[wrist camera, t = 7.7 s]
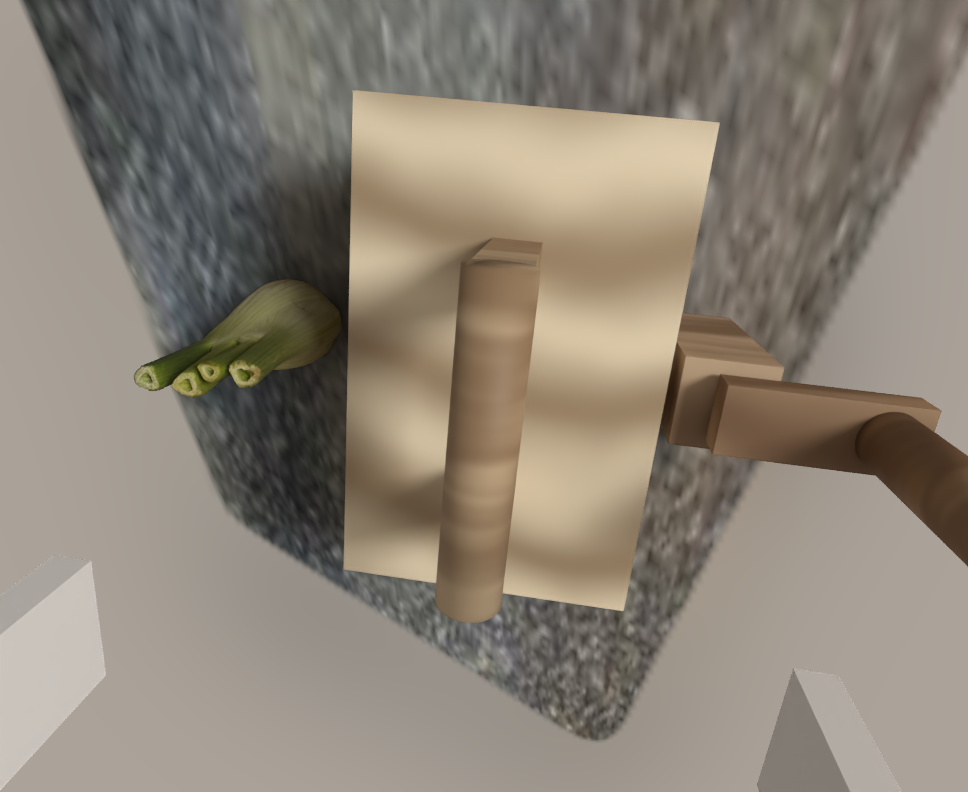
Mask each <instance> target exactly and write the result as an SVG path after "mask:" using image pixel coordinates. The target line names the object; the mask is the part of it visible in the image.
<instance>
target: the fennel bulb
mask: <svg viewBox="0 0 968 792" xmlns="http://www.w3.org/2000/svg"><path fill="white" fill-rule="evenodd" d="M341 325H342V323H341V319H340V312H339V310H338V309H337V308H336V306H335V305H333V304H332V303H331V302H330V301H329V300H328V299H327V298H326V297H325V295H324V294H323V293H322V292H321V291H320V290H318V289H317V288H315V287H314V286H312V285H311V284H309V283H307V282H303V281H299V280H293V279H284V280H279V281H274V282H270V283H268V284H265V285H264V286H262V287H260V288H258V289H257V290H256V291H254V292H253V293H252V294H250V295H249V296H248V297H247V298H246V299H245V300H243V301H242V302H241V303H240V304H239V305H238V306H237V307H236V308H235V309H234V310H233V311H232V313H231V314H230V315H229V316H228V317H227V318H226V319H225V320H223V321H222V322H221V323H220V324H219V325H218V326H217V327H215V328H214V329H213V330H212V331H211V332H210V333H209V334H208V335H207V336H206V337H205V338H203V339H202V340H201V341H199V342H196V343H194V344H192V345H190V346H188V347H185V348H183V349H181V350H179V351H176V352H174V353H172V354H169V355H167V356H164V357H162V358H160V359H158V360H155V361H153V362H150V363H147V364H145V365H143V366H141V367H140V369H138V370H137V371H136V373H135V375H134V380H135V383H136V384H137V385H138V386H140V387H144V388H146V389H148V390H149V391H157V390H160V389H163V388H164V387H167V386H169V385H171V384H172V387H173V389H174V390H175V391H177V392H179V393H181V394H183V395H186V396H191V397H194V398H196V397H200V396H203V395H204V394H206V393H207V392H208V391H209V390H211V389H212V388H213V387H214V386H215V385H217V384H218V383H219V382H220V381H221V380H223V379H224V378H226V377H227V376H230V375H232V377H233V379H234V381H235V382H236V384H237V385H238V387H240V388H247V387H252V386H255V385H257V384H258V383H259V382H260V381H261V380H262V379H263V378H264V377H266V375H268V374H269V373H270V372H271V371H272V370H284V369H291V368H297V367H302V366H305V365H308V364H310V363H312V362H314V361H316V360H317V359H319V358H320V357H323V356H325V355H326V354H327V353H328V352H329V351H330V350H331V348H332V346H333V343H334V339H335V338H336V337H337V336H338V335H339V333H340V331H341Z"/></svg>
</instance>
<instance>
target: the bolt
mask: <svg viewBox="0 0 968 792" xmlns="http://www.w3.org/2000/svg"><path fill="white" fill-rule="evenodd" d="M940 414H941V410H940V409H938V408H936V407H935V406H933V405H932V404H930V403H929V402H927V401H926V400H924V399H922V398H918V397H909V396H900V395H892V394H884V393H876V392H867V391H858V390H851V389H841V388H834V387H825V386H817V385H809V384H800V383H792V382H783V381H775V380H767V379H758V378H750V377H741V376H733V375H725V374H720V376H719V381H718V385H717V390H716V394H715V399H714V403H713V407H712V412H711V416H710V421H709V425H708V430H707V434H706V439H705V441H706V443H707V445H708V447H709V449H710V450H711V452H712V454H713V455H720V456H728V457H736V458H744V459H751V460H759V461H767V462H775V463H782V464H790V465H798V466H806V467H813V468H821V469H829V470H837V471H844V472H852V473H861V474H868V475H876V476H877V477H878V478H879V479H880V480H881V481H882V482H883V483H884V484H885V485H886V486H887V487H888V488H889V489H890V490H891V491H892V492H893V493H894V494H895V495H896V496H897V497H898V498H899V499H900V500H901V501H902V502H903V503H904V504H905V505H906V506H907V507H908V508H909V509H910V510H911V511H912V512H913V513H914V514H915V515H916V516H917V517H918V518H919V519H920V520H922V522H923V523H924V524H926V525H927V526H928V527H929V528H930V529H931V530H932V531H933V532H934V533H935V534H936V535H937V536H938V537H939V538H940V539H941V540H942V541H943V542H944V543H945V544H946V545H947V546H948V547H949V548H950V549H951V550H952V551H953V552H954V553H955V554H956V555H957V556H958V557H959V558H960V559H961V560H962V561H963V562H964V563H965V564H966V565H967V566H968V456H967V455H966V454H964V453H963V452H961V451H960V450H958V449H957V448H956V447H954V446H953V445H951V444H950V443H949V442H947V441H946V440H944V439H943V438H942V437H940V436H939V435H938V434H936V433H935V432H934V431H935V428H936V426H937V423H938V420H939V417H940Z"/></svg>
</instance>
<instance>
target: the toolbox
mask: <svg viewBox="0 0 968 792" xmlns="http://www.w3.org/2000/svg"><path fill="white" fill-rule="evenodd" d="M783 371H784V367H783V366H782V365H781V364H780V363H778V362H777V361H776V360H775V359H774V358H773V357H772V356H771V355H770V354H768V353H767V352H766V351H765V350H764V349H763V348H762V347H761V346H760V345H759V344H757V343H756V342H755V341H754V340H753V339H752V338H751V337H750V336H749V335H747V334H746V333H745V332H744V331H743V330H742V329H741V328H740V327H739V326H738V325H736V324H735V323H734V322H733V321H732V320H731V319H730V318H722V317H713V316H704V315H695V314H686V313H682V317H681V322H680V327H679V332H678V337H677V342H676V347H675V352H674V357H673V362H672V368H671V373H670V378H669V383H668V388H667V393H666V398H665V403H664V408H663V413H662V418H661V426H662V428H663V431H664V434H665V436H666V439H667V442H668V444H675V445H683V446H691V447H698V448H706V449H709V447H708V445H707V443H706V441H705V439H706V434H707V430H708V425H709V421H710V416H711V412H712V407H713V403H714V399H715V394H716V390H717V385H718V381H719V376H720V374H725V375H733V376H741V377H750V378H758V379H767V380H775V381H781V379H782V375H783Z"/></svg>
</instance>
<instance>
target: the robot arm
mask: <svg viewBox="0 0 968 792" xmlns="http://www.w3.org/2000/svg"><path fill="white" fill-rule="evenodd" d="M105 675H106V672H105V664H104V656H103V649H102V642H101V633H100V626H99V618H98V611H97V603H96V596H95V587H94V580H93V572H92V565H91V561H89V560H83V559H76V558H70V557H63V556H57V555H53V556H52V557H50V558H49V559H48V560H46V561H45V562H44V563H43V564H41V565H40V566H38V567H37V568H36V569H34V570H33V571H32V572H30V573H29V574H28V575H26V576H25V577H24V578H22V579H21V580H20V581H18V582H17V583H16V584H14V585H13V586H12V587H10V588H9V589H8V590H6V591H5V592H3V593H2V594H1V595H0V790H1V789H2V788H3V787H4V786H5V784H6V783H7V782H8V781H9V780H10V779H11V778H12V777H13V776H14V775H15V774H16V773H17V771H18V770H19V769H20V768H21V767H22V766H23V765H24V764H25V763H26V762H27V760H28V759H29V758H30V757H31V756H32V755H33V754H34V753H35V752H36V751H37V749H38V748H39V747H40V746H41V745H42V744H43V743H44V742H45V741H46V740H47V739H48V738H49V736H50V735H51V734H52V733H53V732H54V731H55V730H56V729H57V728H58V727H59V725H61V723H62V722H63V721H64V720H65V719H66V718H67V717H68V716H69V715H70V713H72V711H73V710H74V709H75V708H76V707H77V706H78V705H79V704H80V703H81V702H82V701H83V699H84V698H85V697H86V696H87V695H88V694H89V693H90V692H91V691H92V690H93V688H94V687H95V686H96V685H97V684H98V683H99V682H100V681H101V680H102V679H103V678H104V676H105ZM757 786H758V789H759V792H902V791H901V789H900V788H899V786H898V784H897V782H896V780H895V778H894V777H893V775H892V773H891V771H890V769H889V768H888V766H887V764H886V762H885V760H884V758H883V757H882V755H881V753H880V751H879V749H878V747H877V745H876V744H875V742H874V740H873V738H872V736H871V735H870V733H869V731H868V729H867V727H866V725H865V724H864V722H863V720H862V718H861V716H860V714H859V713H858V711H857V709H856V707H855V705H854V704H853V701H852V700H851V698H850V696H849V694H848V692H847V691H846V689H845V687H844V685H843V683H842V681H841V680H840V678H839V676H838V675H831V674H826V673H819V672H813V671H806V670H800V669H793V671H792V674H791V677H790V680H789V684H788V687H787V690H786V694H785V697H784V700H783V703H782V706H781V709H780V713H779V716H778V719H777V722H776V725H775V729H774V732H773V735H772V738H771V742H770V745H769V748H768V751H767V754H766V758H765V761H764V764H763V767H762V770H761V774H760V777H759V780H758V783H757Z"/></svg>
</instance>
